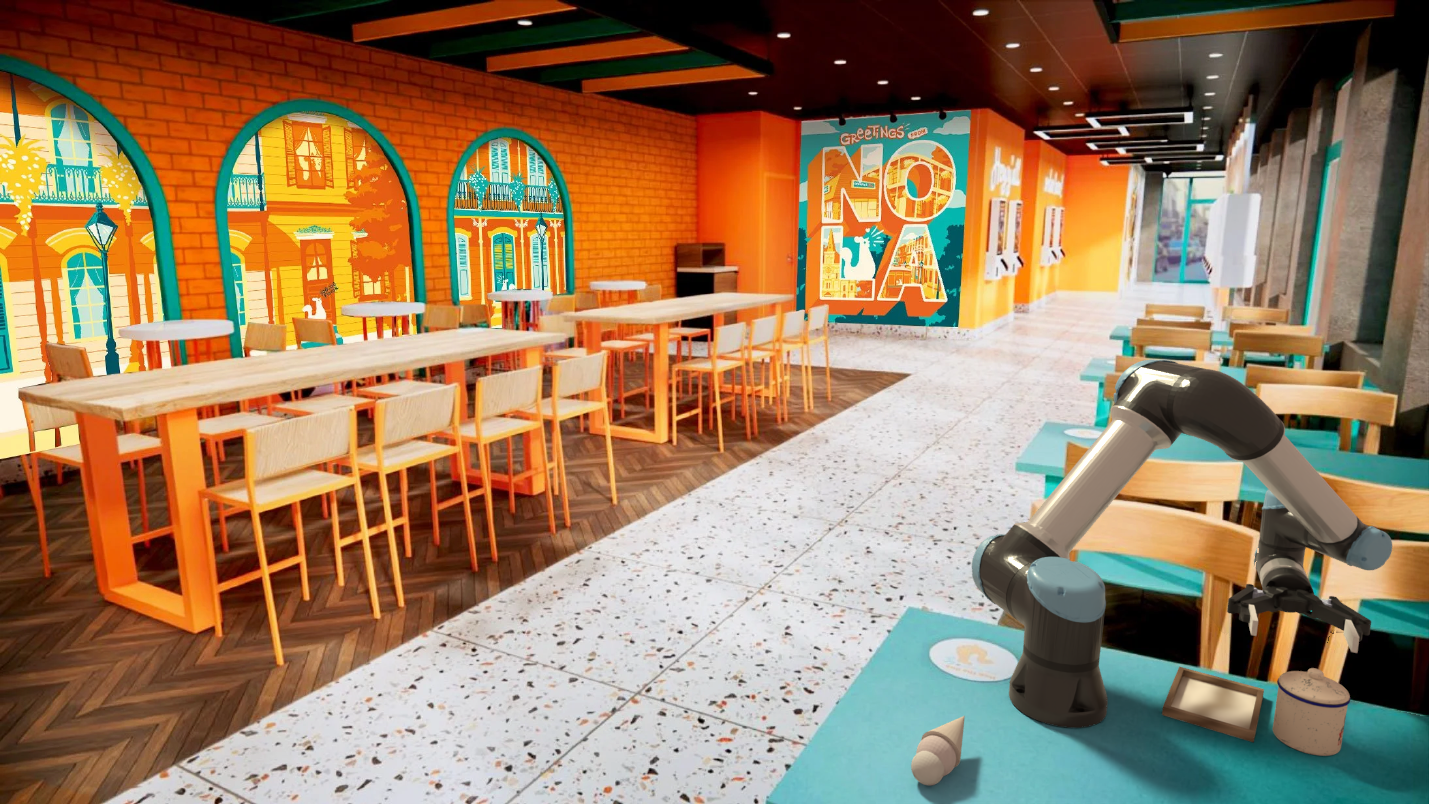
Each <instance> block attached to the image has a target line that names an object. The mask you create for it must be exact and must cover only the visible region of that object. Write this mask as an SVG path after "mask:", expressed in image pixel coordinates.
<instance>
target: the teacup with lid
mask: <svg viewBox="0 0 1429 804" xmlns="http://www.w3.org/2000/svg"><path fill="white" fill-rule="evenodd" d="M1276 681H1277V686H1278V687H1277V695H1276V702H1275V707H1274V708H1275V709H1274V716H1273V724H1272V732H1273V734H1274V736H1275V737H1276V739H1278V740H1279V741H1280V742H1282V743H1283V744H1284V745H1286V746H1288V747H1290V748H1291V749H1294V750H1296V751H1299V752H1302V753H1305V754H1309V755H1314V756H1320V757H1322V756H1323V757H1328V756H1333V755H1336V754H1338V753H1339V752H1340V751H1341V749H1342V745H1343V744H1342V743H1343V736H1344V732H1345V731H1344V730H1345V724H1346V716H1347V711H1348V706H1349V704H1350V702H1351V697H1350V696H1351V695H1350V693H1349V691H1348V690H1347V689H1346V688H1345V687H1344V686H1343V685H1342V684H1340V683H1339V682H1337V681H1336V680H1333V679H1332V678H1329V677H1326V676H1325V673H1324V671H1322V670H1320V669H1318V668H1314V667H1311V668H1309V669H1308V670H1307V671H1302V670H1300V671H1299V670H1291V671H1287V672H1283V673H1282V674H1281V675H1279V676H1278V678H1277V680H1276Z"/></svg>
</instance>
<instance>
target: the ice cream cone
mask: <svg viewBox="0 0 1429 804" xmlns="http://www.w3.org/2000/svg"><path fill="white" fill-rule="evenodd" d="M965 716H966V715H963V716H960V717H959V718H956V719H953V720H952V721H948V722H947V723H945V724H942V725H940V726H937V727H935V728H933V729H930V730H929V731H927V732H925V733H923V734H922V736H921V740H920V742H919V743H918V745H917V748H916V751H915V752H916V753H915V755H914V756H913V758H912V759H911V764H910V766H911V767H910V768H911V773H912V775H913V777H914V779H915V780H916V781H917V782H919V783H920V784H922V785H924V786H935V785H937V784H939V783H940V782H941V781H942V779H943V777H945V776H947V775H949V774H950V773H951V772H952V771H953V770H954V768H957V767H958V766H959V764H960V763H961V758H962V746H963V738H964V729H965V728H964V726H965V719H966V717H965Z"/></svg>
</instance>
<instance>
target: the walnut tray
mask: <svg viewBox="0 0 1429 804" xmlns="http://www.w3.org/2000/svg"><path fill="white" fill-rule="evenodd" d="M1264 694H1265V689H1264V688H1261V687H1259V686H1258V687H1256V686H1253V685H1249V684H1246V683H1242V682H1238V681H1235V680H1231V679H1228V678H1224V677H1221V676H1217V675H1212V674H1209V673H1205V672H1201V671H1197V670H1194V669H1191V668H1186V667H1183V666H1179V667H1178V668H1177V671H1176V674H1175V676H1174V679H1173V681H1172V683H1171V686H1170V688H1169V691H1168V693H1167V695H1166V698H1165V701H1164V703H1163V705H1162V710H1161V712H1162V713H1161V715H1162V716H1165V717H1168V718H1171V719H1174V720H1177V721H1181V722H1185V723H1186V724H1187V723H1188V724H1191V725H1194V726H1197V727H1201V728H1204V729H1207V730H1211V731H1214V732H1217V733H1221V734H1224V735H1228V736H1231V737H1233V738H1237V739H1241V740H1244V741H1248V742H1251V743H1254V742H1255V737H1256V733H1257V727H1258V723H1259V719H1260V714H1261V709H1262V703H1263V699H1264Z"/></svg>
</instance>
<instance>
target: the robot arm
mask: <svg viewBox="0 0 1429 804" xmlns="http://www.w3.org/2000/svg"><path fill="white" fill-rule="evenodd" d="M1114 389H1115V392H1114V393H1113V401H1114V404H1113V405H1112V406H1111V408H1110V414H1111V421H1110V423H1109V424H1108V425H1107V426H1106V427H1105V429H1104V430H1103V431H1102V432H1101V434H1100V435H1098V437H1097V439H1096V440H1095V441H1093V443H1092V445H1090V447H1088V449H1087V450H1086V452H1085V453H1084V454H1083V455H1082V456H1081V458H1080V459H1078V461H1077V462H1076V463H1075V464H1074V466H1073V467H1072V468H1071V469H1070V471H1068V473H1067V475H1065V477H1064V478H1063V479H1062V480H1061V481H1060V483H1059V484H1058V485H1057V486H1056V488H1054V490H1053V491H1052V492H1051V493H1050V495H1049V496H1048V497H1047V498H1046V499H1045V501H1043V503H1042V504H1041V505H1040V506H1039V508H1037V510H1036V511H1035V513H1034V514H1033V515H1032V516H1031V518H1030V519H1028V520H1027V521H1026V522H1015V523H1014V524H1013V525H1012V527H1010V529H1009V530H1008V531H1007V532H1006V533H1005V534H1004V533H999V534H998V533H997V534H996V535H990V536H989V537H987V538H985V539H983V541H982V542H981V543H980V544H979V545H978V546H977V548H976V550H975V552H974V554H973V556H972V561H971V572H972V573H971V576H972V580H973V582H974V584H975V586H976V588H977V589H978V591H980V592H981V593H982V594H983V595H984V596H985V598H986V599H987V600H989V601H990V602H991V603H992V604H993V605H997V606H998V607H999V608H1000V609H1002V610H1003V611H1004V612H1006V613H1007V614H1009V615H1010V616H1011V617H1013V619H1016V621H1018V622H1019V623H1020V624H1022V625H1023V626H1024V630H1023V631H1024V632H1023V646H1022V654H1021V655H1020V658H1019V660H1018V663H1017V664H1016V665H1015V668H1014V670H1013V673H1012V675H1011V677H1010V680H1009V688H1008V697H1009V700H1010V701H1011V704H1012V705H1014V707H1015V708H1016V709H1017V710H1018V711H1020V712H1022V713H1023V714H1025V716H1027V717H1030V718H1031V719H1034V720H1037V721H1038V722H1041V723H1045V724H1048V725H1051V726H1056V727H1061V728H1072V729H1081V728H1088V727H1092V726H1095V725H1097V724H1100V723H1101V722H1102V721H1104V719H1106V717H1107V713H1108V712H1107V711H1108V704H1109V703H1108V701H1109V700H1108V694H1107V691H1106V688H1105V685H1104V679H1103V677H1102V673H1101V669H1100V658H1101V647H1102V638H1103V630H1104V620H1105V611H1106V606H1107V601H1106V586H1105V583H1104V580H1103V579H1102V577H1101V576H1100V575H1099V574H1098V573H1097V572H1096V571H1095V570H1094V569H1092V568H1091V567H1090V566H1087V565H1086V564H1083V562H1080V561H1077V560H1075V561H1072V560H1070V559H1071V558H1070V554H1071V551H1073V550H1074V548H1075V547H1076V546H1077V545H1078V543H1079V542H1081V540H1082V539H1083V537H1085V535H1086V534H1087V533H1088V531H1089V530H1090V529H1091V528H1092V527H1093V525H1094V524H1095V523H1096V522H1097V521H1098V519H1099V518H1100V517H1101V515H1103V514H1104V512H1105V510H1106V509H1107V508H1108V507H1109V506H1110V504H1112V503H1113V501H1114V500H1115V499H1116V498H1117V496H1118V495H1119V494H1120V493H1121V491H1122V490H1123V489H1124V488H1125V487H1126V486H1127V484H1128V483H1129V482H1130V481H1131V480H1132V478H1133V477H1134V476H1135V475H1136V474H1137V472H1138V471H1139V470H1140V469H1141V468H1142V467H1143V465H1144V464H1145V463H1146V462H1147V461H1148V459H1149V458H1150V457H1151V456H1152V454H1154V452H1155V451H1156V450H1165V449H1169V448H1171V446H1173V443H1175V442H1176V441H1177V439H1178V438H1179V437H1180V435H1181V434H1184V435H1186V436H1187V435H1188V436H1190V437H1194V438H1198V439H1201V440H1203V441H1205V442H1208V443H1209V444H1212V445H1214V446H1217V447H1218V448H1219V449H1221V450H1222V451H1223V452H1224V454H1226V456H1228V457H1229V458H1230V459H1232V460H1234V461H1236V462H1242V463H1243V464H1244V465H1245V466H1246V467H1247V468H1248V469H1249V470H1250V472H1252V473H1253V474H1254V475H1255V477H1256V478H1257V479H1258V480H1259V481H1260V482H1261V483H1262V484H1263V485H1264V486H1265V487H1266V488H1267V490H1266V492H1265V494H1264V501H1263V506H1262V507H1261V510H1262V512H1261V520H1260V521H1261V522H1260V529H1259V532H1260V533H1259V540H1258V545H1257V546H1258V547H1257V548H1259V553H1257V548H1256V549H1255V552H1254V556H1255V558H1254V560H1253V564H1254V566H1255V562H1256V561H1257V562H1256V567H1255V570H1256V572H1257V574H1258V578H1259V580H1260V584H1261V587H1262V590H1261V589H1258V588H1257V587H1255V586H1254V584H1252V583H1246V584H1245V588H1243V589H1242V590H1241V591H1239V592H1237V593H1235V594H1234V595H1232V596H1231V597H1228V599H1227V602H1228V603H1227V609H1226V612H1227V613H1228V614H1230V615H1231V614H1233V615H1235V614H1239V616H1238V620H1239V621H1241V622H1243V623H1248V627H1249V631H1250V636H1255V637H1257V634H1258V627H1259V626H1258V625H1259V619H1258V615H1259V614H1262V613H1266V612H1270V613H1275V612H1278V611H1279V612H1282V613H1290V614H1292V613H1297V614H1303V615H1304V616H1306V617H1308V618H1310V619H1318V620H1321V621H1322V622H1325V624H1329V625H1331V626H1333V627H1334V628H1337V629H1339V630H1341V631H1343V637H1344V638H1345V641H1346V643H1347V645H1348V647H1349V649H1350V653H1355V654H1358V651H1359V644H1360V643H1359V642H1361V641H1362V640H1363V636H1370V633H1371V626H1372V619H1371V620H1370V619H1369V618H1367V617H1366V616H1365V615H1363V614H1361V613H1359V612H1357V611H1356V610H1355V609H1353V608H1352V607H1350V606H1348V605H1346V604H1344V603H1343V602H1342V601H1341V600H1340V599H1339V598H1338V597H1337V596H1334V595H1330V596H1328V598H1327V599H1322V598H1320V597H1319V596H1318V595H1316V594H1315V593H1314V589H1313V586H1312V584H1311V582H1310V579H1309V577H1308V575H1307V573H1306V570H1305V567H1304V563H1305V554H1306V549H1309V550H1312V551H1313V552H1317V553H1320V554H1322V555H1325V556H1327V557H1329V558H1332V559H1334V560H1336V561H1339V562H1341V563H1344V564H1346V565H1347V566H1350V567H1355V568H1358V569H1362V570H1364V571H1375V570H1378V569H1380V568H1381V567H1382V566H1384V565H1385V563H1386V562H1387V560H1389V559H1390V557H1391V555H1392V551H1393V541H1392V538H1391V537H1390V535H1389V534H1388V533H1387V532H1385V531H1383V530H1380V529H1378V528H1377V527H1375V526H1373V525H1371V526H1370V525H1367V524H1365V523H1364V522H1363V521H1361V519H1360V518H1359V517H1358V516H1357V515H1356V514H1355V513H1354V512H1353V510H1352V509H1351V507H1349V506H1348V505H1347V504H1346V502H1345V501H1344V500H1343V499H1342V498H1341V497H1340V496H1339V495H1338V494H1337V492H1336V491H1335V490H1334V489H1333V488H1332V487H1331V486H1330V485H1329V484H1328V482H1327V481H1326V480H1325V478H1323V477H1322V475H1321V474H1320V473H1319V472H1318V471H1317V470H1316V469H1315V468H1314V466H1313V465H1312V464H1311V463H1310V461H1308V460H1307V458H1306V457H1305V456H1304V455H1303V454H1302V453H1301V452H1300V450H1298V449H1297V447H1296V446H1295V445H1294V443H1292V442H1291V440H1290V439H1289V438H1288V437H1287V436H1286V428H1285V424H1284V423H1283V421H1282V420H1281V419H1280V417H1278V415H1277V414H1276V413H1275V412H1274V411H1273V410H1272V409H1271V408H1270V406H1268V405H1267V404H1266V402H1265V401H1263V400H1262V399H1261V398H1260V397H1259V396H1258V395H1257V394H1255V393H1254V391H1252V390H1251V389H1250V388H1249V387H1247V386H1246V385H1245V384H1244V383H1242V382H1240V381H1239V380H1237V379H1236V378H1234V377H1232V376H1231V375H1229V374H1226V373H1225V372H1223V371H1219V370H1215V369H1210V368H1203V367H1198V366H1193V365H1187V364H1183V363H1178V362H1176V361H1173V360H1169V359H1145V360H1142V361H1141V360H1140V361H1138V362H1135V363H1133V364H1132V365H1130V366H1129V367H1128V368H1127V369H1125V370H1124V371H1123V372H1122V373H1121V375H1120V376H1119V378H1118V379H1117V381H1116V383H1115V387H1114Z"/></svg>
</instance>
